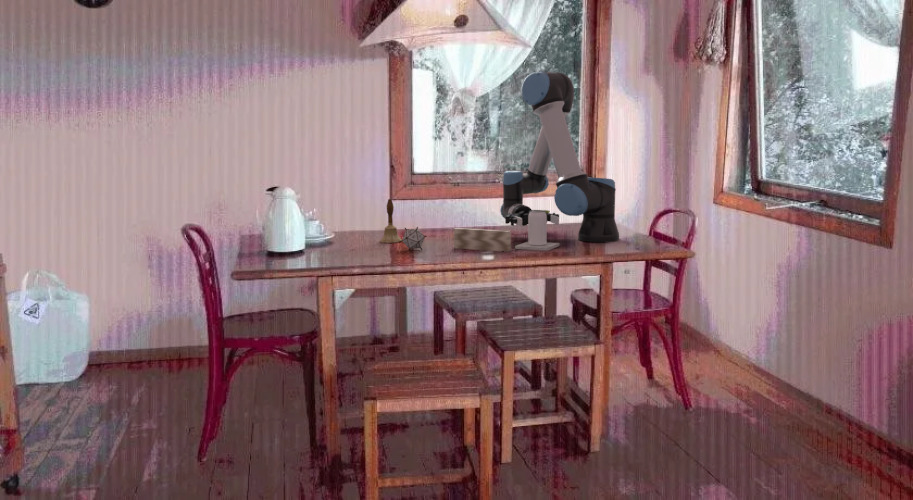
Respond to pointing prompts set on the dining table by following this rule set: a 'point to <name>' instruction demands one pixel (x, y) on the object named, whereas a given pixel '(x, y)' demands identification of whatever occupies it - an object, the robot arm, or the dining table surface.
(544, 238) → the can
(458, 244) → the beige brown patterned panel
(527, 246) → the pad
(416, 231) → the game die
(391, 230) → the hand bell
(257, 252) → the dining table surface
